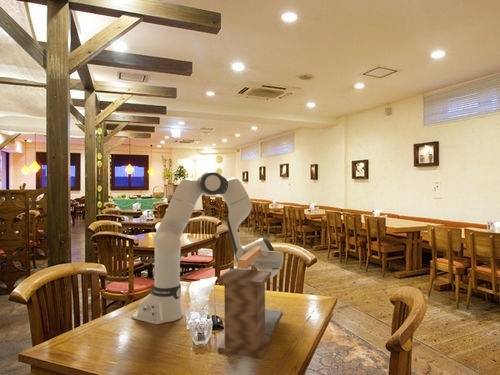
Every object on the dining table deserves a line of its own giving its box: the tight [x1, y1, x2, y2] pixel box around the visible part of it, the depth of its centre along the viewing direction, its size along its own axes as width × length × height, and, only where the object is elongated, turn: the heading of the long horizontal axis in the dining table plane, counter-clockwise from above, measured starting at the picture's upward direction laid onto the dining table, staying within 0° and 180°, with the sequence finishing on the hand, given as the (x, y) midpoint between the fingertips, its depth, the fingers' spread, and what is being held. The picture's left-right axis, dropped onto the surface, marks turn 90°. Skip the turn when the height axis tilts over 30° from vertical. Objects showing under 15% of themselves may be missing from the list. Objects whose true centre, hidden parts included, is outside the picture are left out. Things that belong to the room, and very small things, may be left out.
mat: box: [265, 308, 283, 337], centre depth 141 cm, size 14×24×1 cm, turn 163°
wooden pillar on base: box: [217, 268, 272, 359], centre depth 121 cm, size 16×14×26 cm
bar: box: [236, 246, 262, 270], centre depth 127 cm, size 3×22×3 cm, turn 163°
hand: (255, 250), depth 134 cm, fingers closed on bar, 3 cm apart
